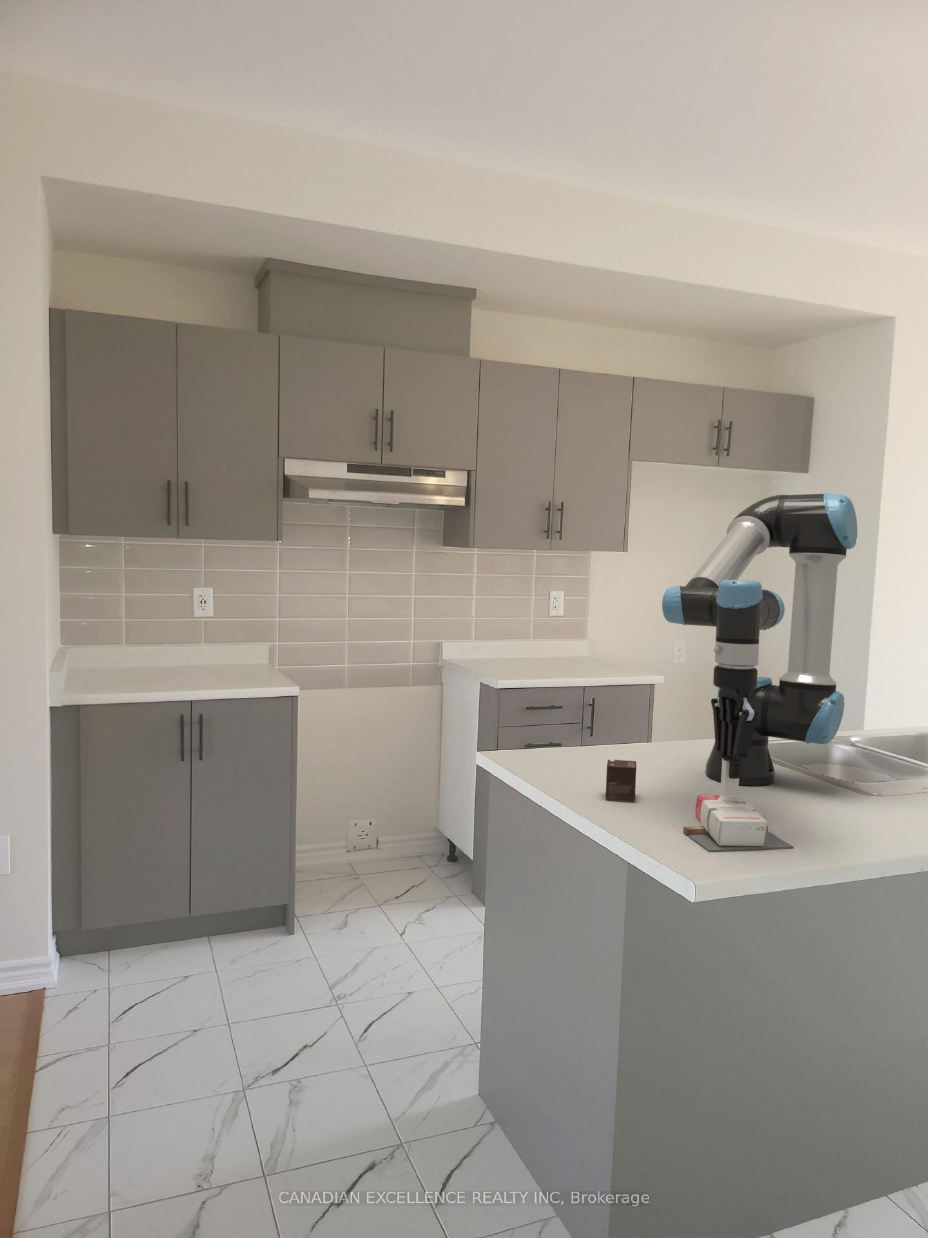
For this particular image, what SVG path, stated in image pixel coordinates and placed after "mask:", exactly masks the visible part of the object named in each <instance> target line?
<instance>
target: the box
mask: <svg viewBox="0 0 928 1238" xmlns="http://www.w3.org/2000/svg"><path fill="white" fill-rule="evenodd" d="M636 783H637V761H636V760H623V759H622V760H621V759H607V763H606V781H605V800H606V801H612V802H613V801H618V802H629V803H635V802H636V789H637V788H636V785H637V784H636Z"/></svg>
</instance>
